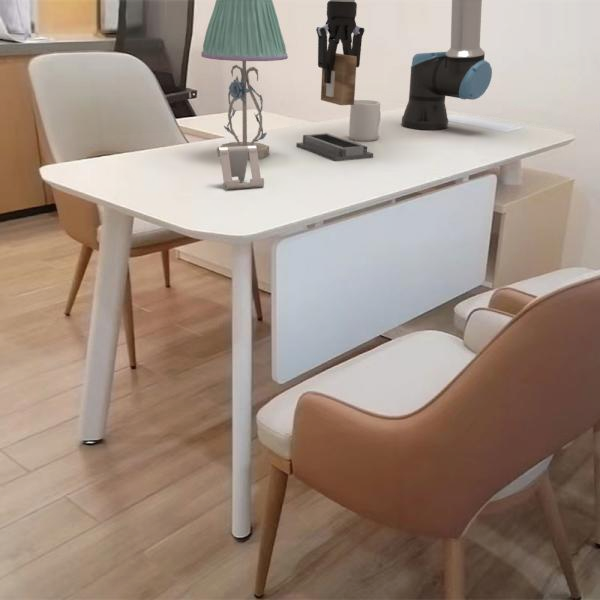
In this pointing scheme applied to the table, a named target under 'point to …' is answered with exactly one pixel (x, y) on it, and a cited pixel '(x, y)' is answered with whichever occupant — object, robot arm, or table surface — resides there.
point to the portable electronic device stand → (239, 166)
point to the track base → (334, 147)
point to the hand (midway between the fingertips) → (337, 95)
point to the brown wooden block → (342, 80)
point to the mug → (364, 120)
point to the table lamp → (244, 51)
